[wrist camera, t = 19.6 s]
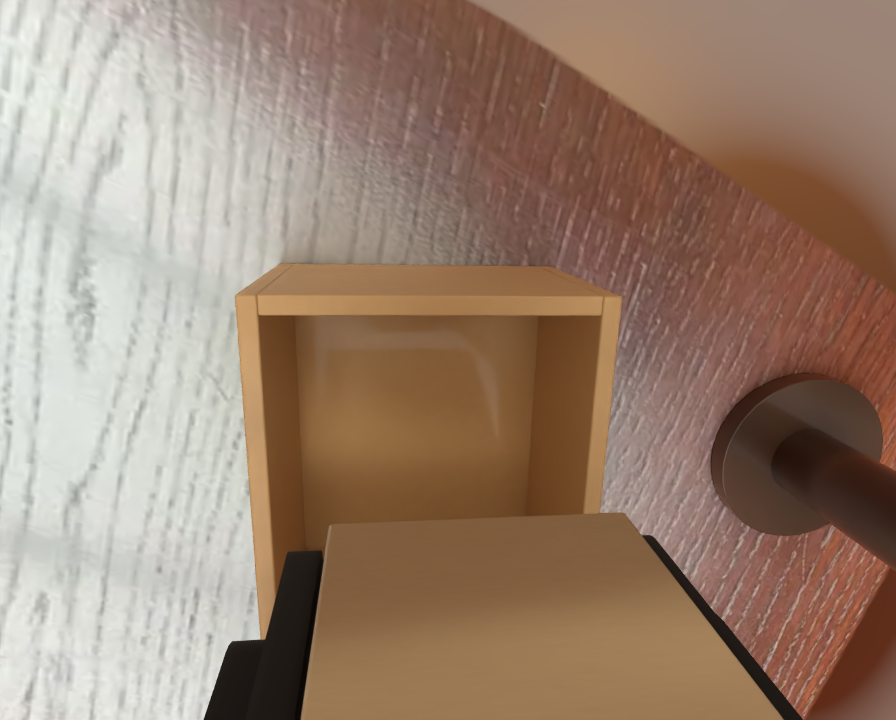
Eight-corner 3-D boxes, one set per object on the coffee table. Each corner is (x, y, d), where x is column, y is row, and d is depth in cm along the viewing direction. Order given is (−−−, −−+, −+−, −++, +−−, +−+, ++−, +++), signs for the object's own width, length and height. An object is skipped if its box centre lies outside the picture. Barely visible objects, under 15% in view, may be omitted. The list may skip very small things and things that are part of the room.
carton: (279, 263, 24) (234, 294, 16) (552, 266, 25) (623, 296, 18) (294, 552, 27) (263, 683, 20) (532, 541, 28) (585, 661, 21)
